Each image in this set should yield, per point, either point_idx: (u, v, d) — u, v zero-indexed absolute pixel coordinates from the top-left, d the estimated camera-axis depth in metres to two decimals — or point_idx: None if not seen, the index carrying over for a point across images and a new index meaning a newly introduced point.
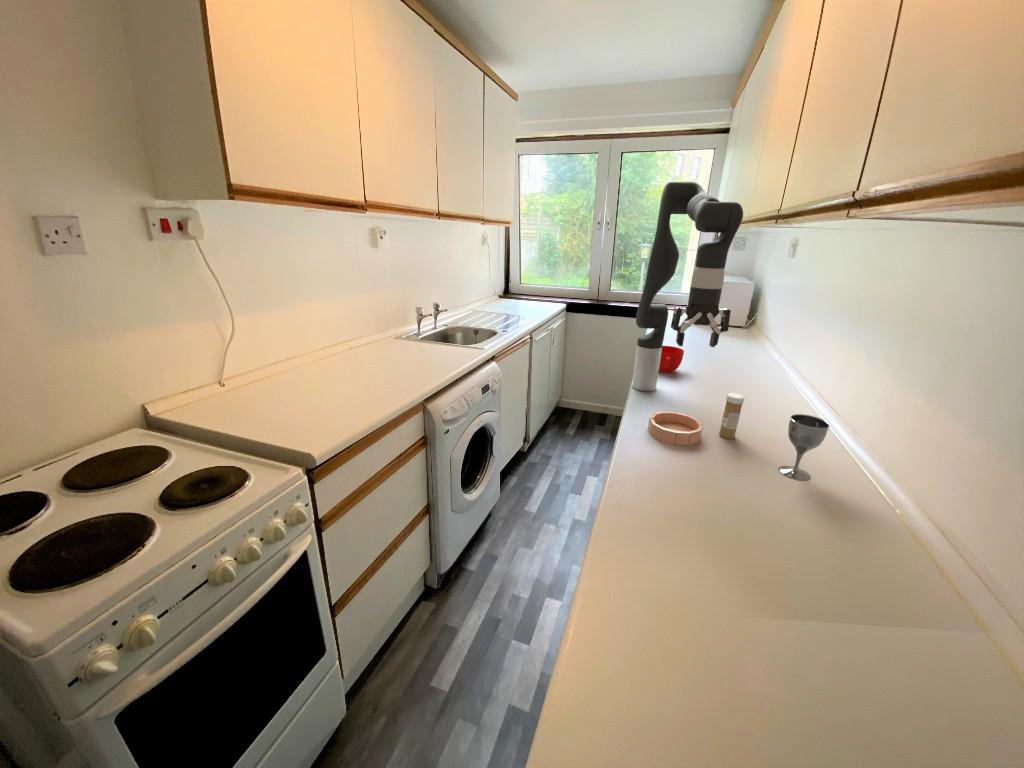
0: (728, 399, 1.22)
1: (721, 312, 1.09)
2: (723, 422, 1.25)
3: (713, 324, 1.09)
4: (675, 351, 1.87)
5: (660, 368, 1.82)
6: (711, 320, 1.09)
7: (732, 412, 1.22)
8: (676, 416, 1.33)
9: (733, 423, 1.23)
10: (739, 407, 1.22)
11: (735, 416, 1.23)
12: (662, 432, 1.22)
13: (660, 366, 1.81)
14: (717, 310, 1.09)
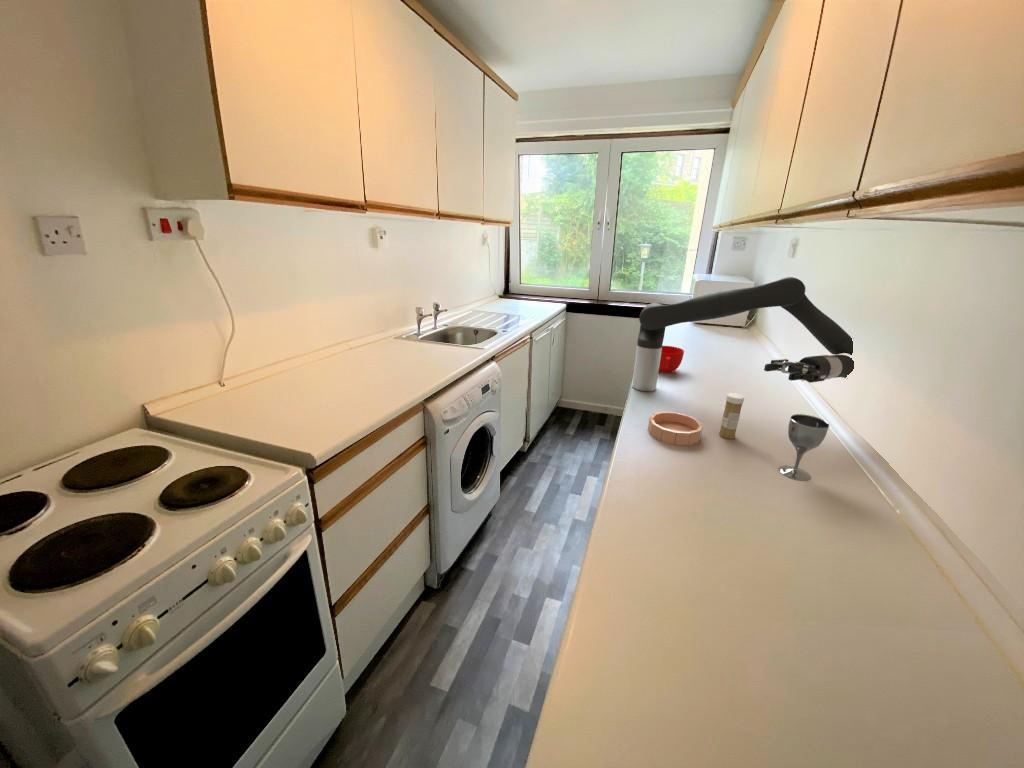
0: (728, 399, 1.22)
1: None
2: (723, 422, 1.25)
3: None
4: (675, 351, 1.87)
5: (660, 368, 1.82)
6: None
7: (732, 412, 1.22)
8: (676, 416, 1.33)
9: (733, 423, 1.23)
10: (739, 407, 1.22)
11: (735, 416, 1.23)
12: (662, 432, 1.22)
13: (660, 366, 1.81)
14: None
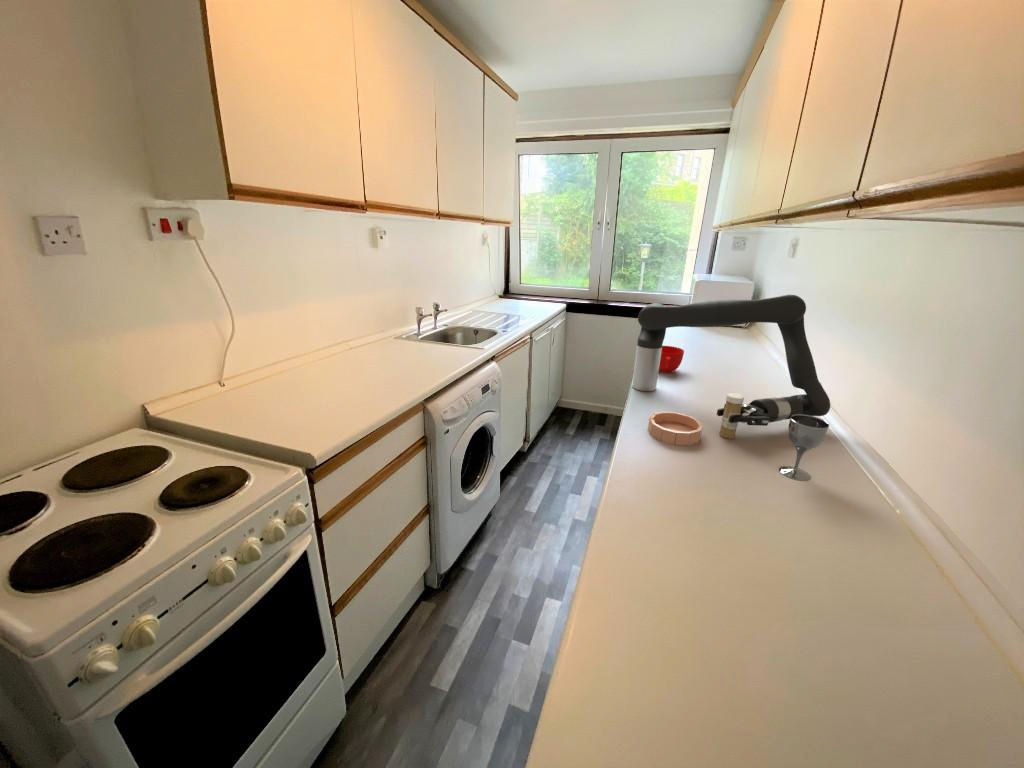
0: (728, 399, 1.22)
1: None
2: (723, 422, 1.25)
3: None
4: (675, 351, 1.87)
5: (660, 368, 1.82)
6: None
7: (732, 412, 1.22)
8: (676, 416, 1.33)
9: None
10: (739, 407, 1.22)
11: None
12: (662, 432, 1.22)
13: (660, 366, 1.81)
14: None
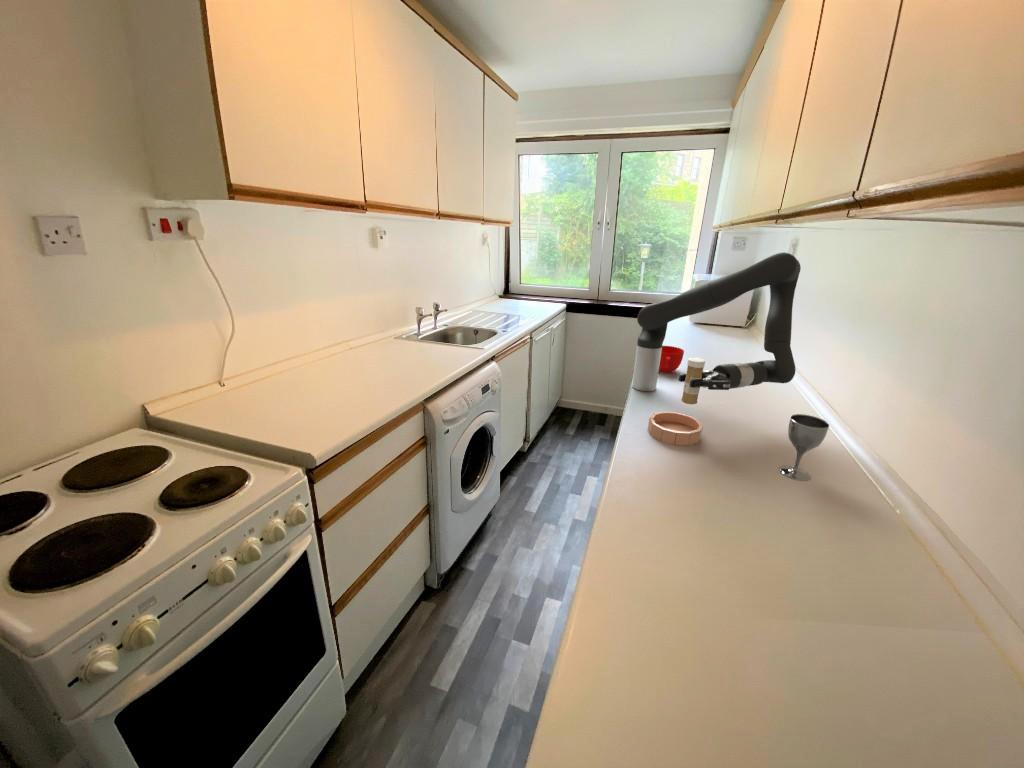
0: (689, 363, 1.20)
1: None
2: (685, 387, 1.22)
3: None
4: (675, 351, 1.87)
5: (660, 368, 1.82)
6: None
7: (693, 376, 1.20)
8: (676, 416, 1.33)
9: (694, 387, 1.21)
10: (700, 371, 1.19)
11: None
12: (662, 432, 1.22)
13: (660, 366, 1.81)
14: None
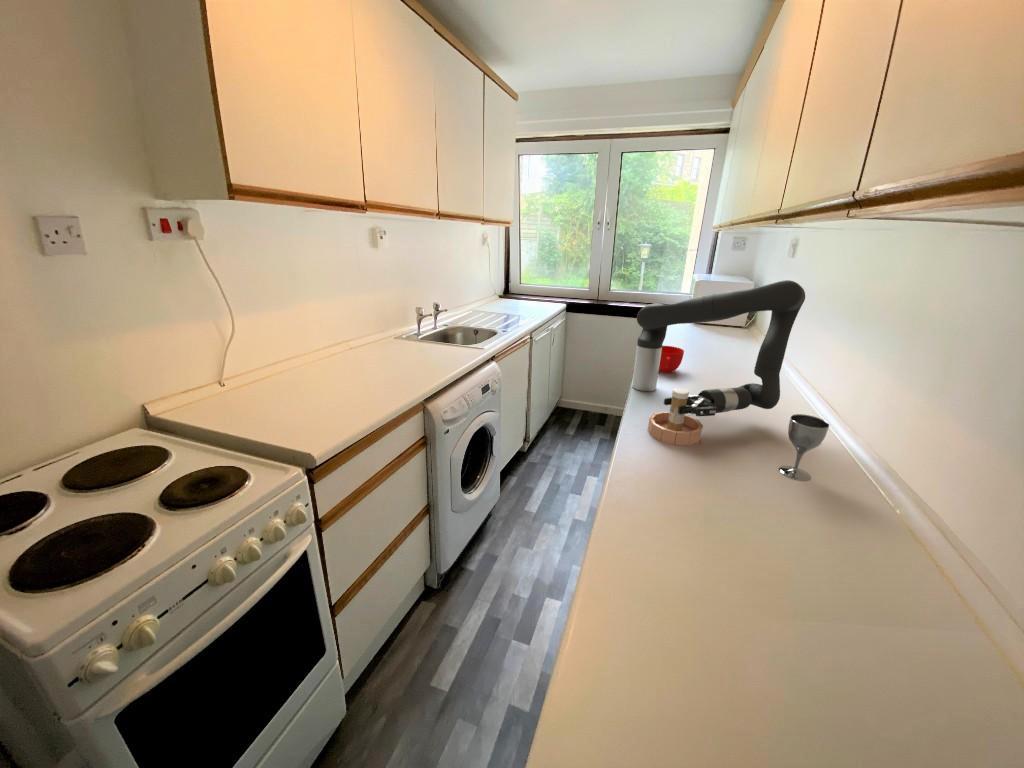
0: (673, 394, 1.23)
1: None
2: (670, 417, 1.26)
3: None
4: (675, 351, 1.87)
5: (660, 368, 1.82)
6: None
7: (677, 407, 1.23)
8: None
9: (679, 417, 1.24)
10: (684, 402, 1.22)
11: None
12: (662, 432, 1.22)
13: (660, 366, 1.81)
14: None
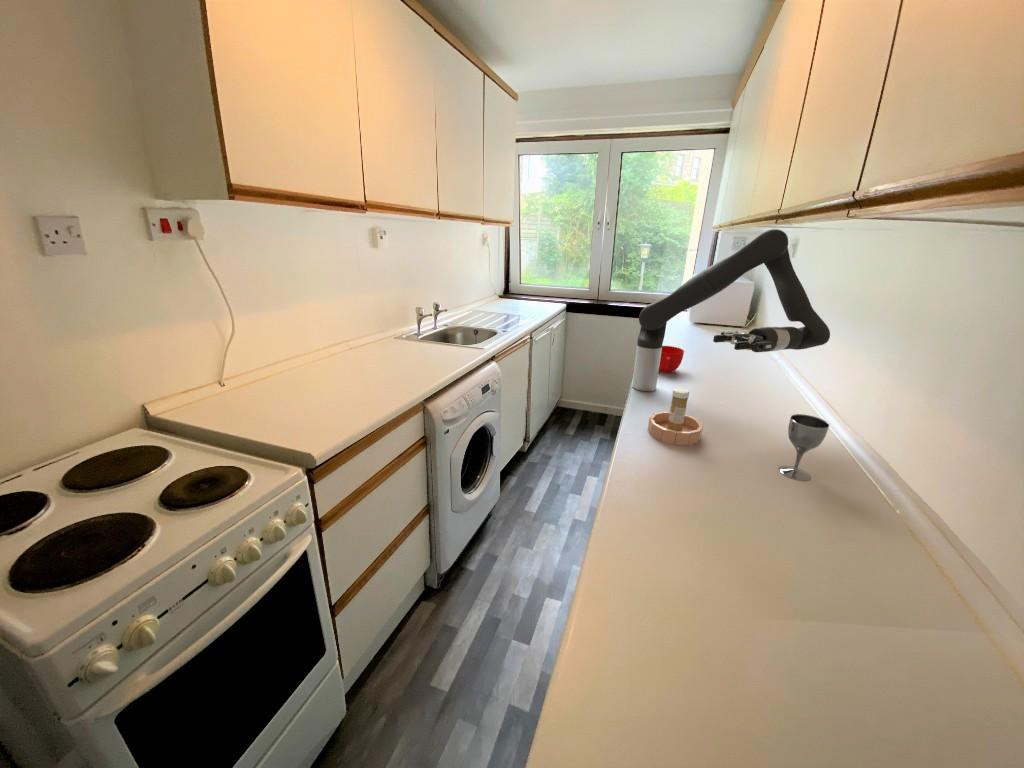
0: (673, 394, 1.23)
1: None
2: (670, 417, 1.26)
3: None
4: (675, 351, 1.87)
5: (660, 368, 1.82)
6: None
7: (677, 406, 1.23)
8: None
9: (679, 417, 1.24)
10: (684, 402, 1.22)
11: (681, 411, 1.23)
12: (662, 432, 1.22)
13: (660, 366, 1.81)
14: None
